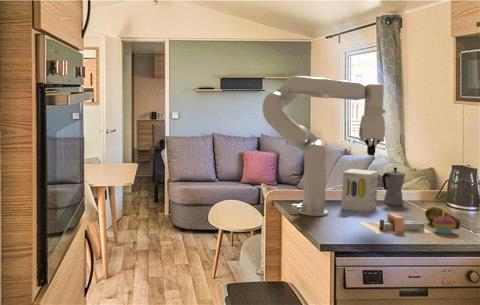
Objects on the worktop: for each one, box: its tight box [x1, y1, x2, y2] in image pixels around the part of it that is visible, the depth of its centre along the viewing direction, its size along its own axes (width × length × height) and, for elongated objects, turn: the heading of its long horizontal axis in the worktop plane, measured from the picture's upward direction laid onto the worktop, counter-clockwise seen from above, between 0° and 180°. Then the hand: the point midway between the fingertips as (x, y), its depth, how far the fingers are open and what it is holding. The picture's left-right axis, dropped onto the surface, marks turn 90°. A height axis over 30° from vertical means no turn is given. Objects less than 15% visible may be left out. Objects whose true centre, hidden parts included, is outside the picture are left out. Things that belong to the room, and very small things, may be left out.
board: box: [358, 221, 433, 235], centre depth 213 cm, size 23×18×1 cm
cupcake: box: [431, 203, 457, 235], centre depth 208 cm, size 9×8×12 cm
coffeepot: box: [381, 167, 406, 206], centre depth 266 cm, size 15×9×18 cm, turn 124°
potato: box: [425, 206, 461, 228], centre depth 220 cm, size 8×13×8 cm, turn 43°
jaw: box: [385, 220, 423, 223], centre depth 211 cm, size 14×2×3 cm, turn 99°
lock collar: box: [386, 212, 405, 232], centre depth 209 cm, size 3×8×5 cm, turn 9°
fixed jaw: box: [379, 219, 425, 231], centre depth 210 cm, size 17×4×4 cm, turn 99°
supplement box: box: [340, 168, 379, 213], centre depth 253 cm, size 13×13×18 cm
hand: (370, 155), depth 233 cm, fingers closed
